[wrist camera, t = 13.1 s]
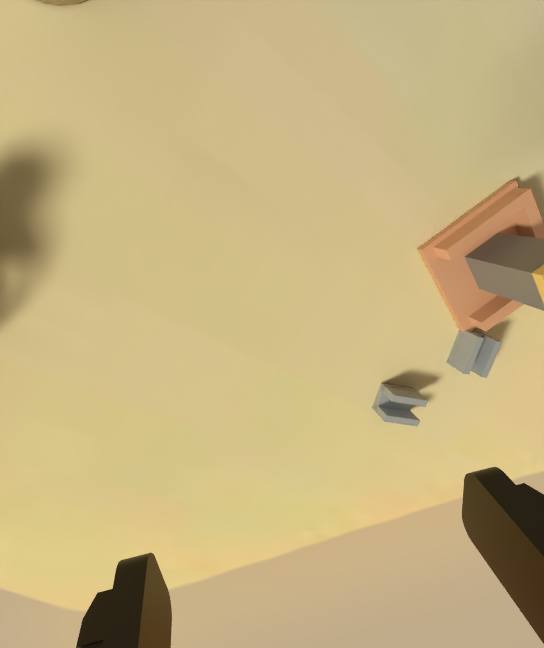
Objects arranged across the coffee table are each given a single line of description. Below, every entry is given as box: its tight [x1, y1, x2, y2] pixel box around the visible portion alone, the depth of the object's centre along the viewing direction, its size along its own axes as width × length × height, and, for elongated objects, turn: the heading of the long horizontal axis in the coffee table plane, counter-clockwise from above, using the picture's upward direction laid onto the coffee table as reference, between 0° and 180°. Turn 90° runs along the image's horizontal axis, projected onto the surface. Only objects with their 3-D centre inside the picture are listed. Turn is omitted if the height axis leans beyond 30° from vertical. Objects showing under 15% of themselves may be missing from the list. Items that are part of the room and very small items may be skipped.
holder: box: [418, 180, 544, 333], centre depth 40 cm, size 11×11×3 cm
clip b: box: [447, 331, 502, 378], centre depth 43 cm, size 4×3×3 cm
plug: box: [465, 233, 544, 311], centre depth 36 cm, size 4×4×12 cm
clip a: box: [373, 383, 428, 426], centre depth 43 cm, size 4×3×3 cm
